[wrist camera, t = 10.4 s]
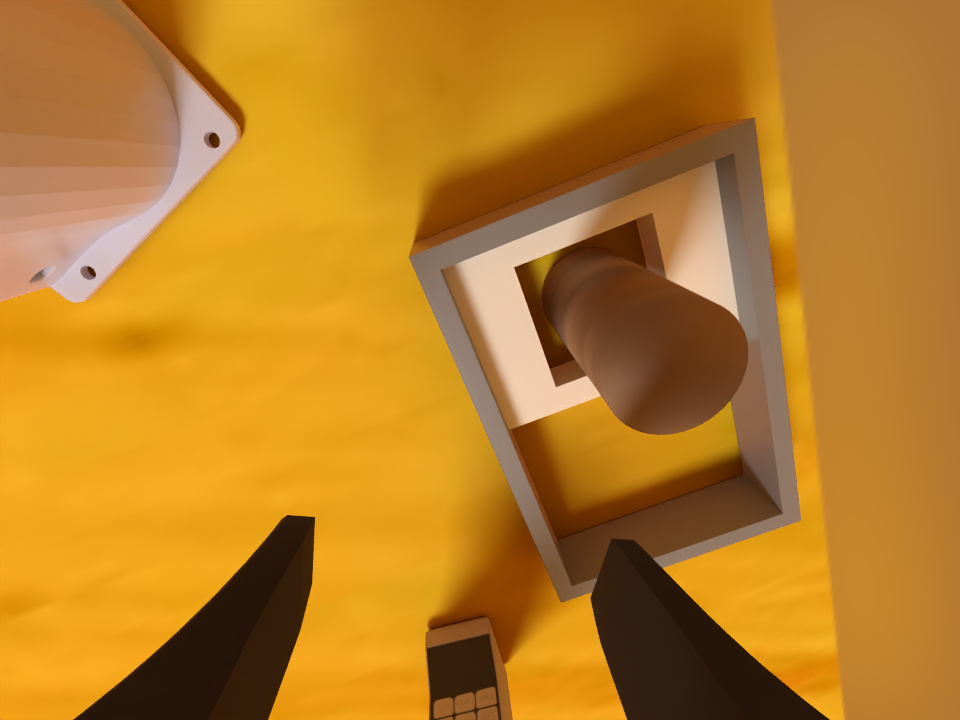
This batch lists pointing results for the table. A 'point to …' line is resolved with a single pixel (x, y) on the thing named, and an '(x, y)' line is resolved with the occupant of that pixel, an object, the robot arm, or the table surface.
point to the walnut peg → (645, 340)
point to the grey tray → (542, 391)
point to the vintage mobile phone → (466, 673)
